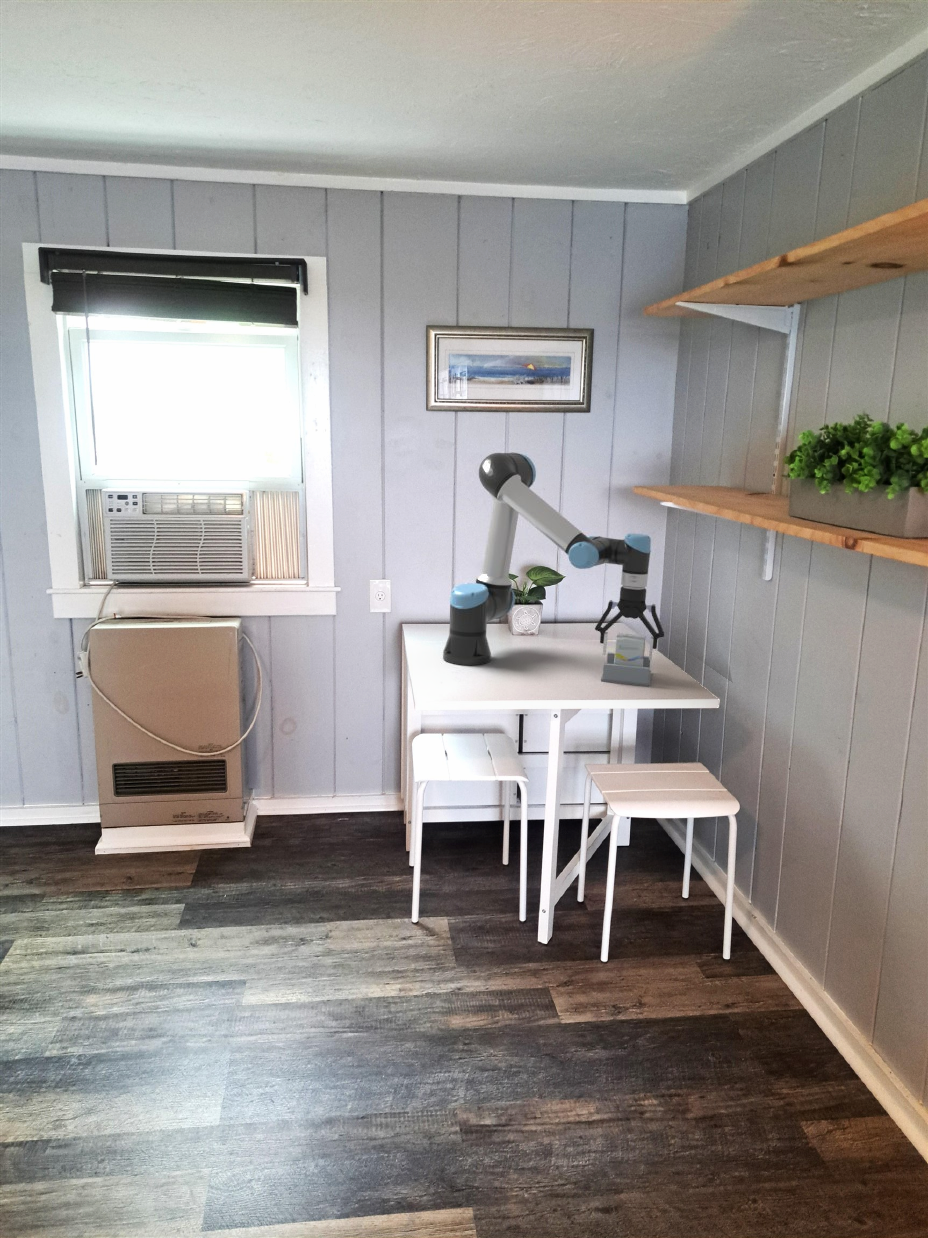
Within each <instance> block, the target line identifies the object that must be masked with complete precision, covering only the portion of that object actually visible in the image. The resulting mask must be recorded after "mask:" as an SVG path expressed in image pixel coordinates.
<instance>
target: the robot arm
mask: <svg viewBox="0 0 928 1238" xmlns="http://www.w3.org/2000/svg"><path fill="white" fill-rule="evenodd" d="M536 474H537V469H536V467H535V464H534V462H533V461H532V459H531V458H529V456H527V455H526V454H522V453H518V452H494V453H491V454H488V455H487V456H485V458H484V459H483V460H482V462H481V463H480V464H479V468H478V478H479V481H480V484H481V485H482V486H483V488H484V489H485V490H486V491H487V492H488V493H489V495H490V496H491V498H492V507H491V513H490V520H489V525H488V532H487V540H486V545H485V552H484V559H483V565H482V572H480V573H479V574H478V575H476V579H475V582H470V583H469V582H468V583H462V584H458V585H456V586H454V587H452V590H451V592H450V598H449V605H450V607H449V633H448V634H449V635H448V638H447V640H446V642H445V643H446V644H445V646H444V649H443V652H442V659H443V660H444V661H445V662H447V663H449V664H450V663H451V664H455V665H462V666H478V665H483V664H488V663H489V662H491V660H492V659H491V658H492V652H491V649H490V645H489V642H488V638H487V628H488V627H487V625H488V624H487V623H488V622H491V621H494V620H499V619H502V618H503V617H505V616H506V615H508V614H509V613H510V612H511V611H512V610H513V608H514V605H515V601H516V598H515V597H516V596H515V592H514V591H513V588H512V585H513V581H512V580H511V579H510V577H509V574H510V568H511V563H512V562H511V561H512V556H513V549H514V545H515V544H514V543H515V537H516V533H517V525H518V518H519V515H520V516H521V517H523V518H524V519H525V520H526V521H527V522H529V523H530V524H531V525H532V526H534V527H535V528H536V529H537V531H539V532H540V533H541V534H543V536H545V537H546V538H547V539H548V540H550V541H551V542H552V543H553V544H555V546H557V547H558V548H559V549H560V550H561V551H563V552H564V553H565V554H566V555H567V556H568V557H567V558H568V559H569V562H570V563H569V564H571V565H572V566H573V567H574V568H576V569H580V570H581V569H582V570H585V569H591V568H593V567H596V566H601V565H603V564H608V565H609V564H610V565H617V566H622V570H621V580H620V584H621V587H620V588H619V589H620V591H619V600H618V602H617V601H613V599H612V600H609V601H608V603H607V608H606V609H605V611H604V612H603V614H602V616H601V617H600V619H599V621H598V622H597V624H596V625H595V628H594V630H595V631H597V632H599V633H600V637H599V643H600V644H602V645H603V647H602V648H603V649H602V656H606V654H607V644H608V633H609V632H608V630H609V629H610V628H611V627H612V626H614V625H615V623H616V622H617V621H619V619H621V618H622V617H623V618H626V619H629V618H630V619H632V620H633V619H634V620H636V619H638V618H639V620H640V621H641V622H642V623H643V625H644V626H645V627H646V629H647V630H648V631H649V634H650V635H651V637H650V644H649V645H650V646H649V655H648V656H649V660H650V661H652V659H653V657H652V656H653V650H656V649H657V648H658V639H660V638H664V637H665V631H664V628H663V626H662V624H661V621H660V618H659V616H658V614H657V611H656V610H657V608H656V607H657V606H656V604H655V603H652V604H648V605H647V604H646V599H647V588H646V587H648V580H649V566H650V558H651V552H652V550H651V547H652V546H651V545H652V539H651V536H649V535H647V534H643V533H627V534H626V535H625V536H624V537H625V538H624V539H620V538H619V539H618V538H613V537H612V538H611V537H606V536H605V537H603V536H599V535H598V536H594V535H592V536H587V535H586V534H585V533H583V532H582V531H581V530H580V529H578V528H577V526H575V525H574V524H573V523H571V522H570V521H569V520H568V519H567V518H565V517H564V516H563V515H562V514H561V513H560V512H559V511H557V510H556V509H555V508H554V507H553V506H551V505H550V504H549V503H548V502H547V501H545V500H544V499H543V498H541V497H540V496H539V495H538V494H537V493H535V492H534V491H533V490H532V489H531V486H533V485H534V483H535V480H536ZM616 607H617V608H618V610H619V611H618V612H617V614H616V615H615V616H613V618H612V619H611V618H610V620H609V621H608V622H607V623H606V624H605V625H604V626H603V627H602V625H603V624H604V622H605V621H606V619H607V617H608V616H609V614H610V613H611V611H612V610H613V609H615V608H616ZM646 610H648V612H649V613H651V616H652V619H653V622H654V624H655V627H656V629H657V631H656V630H655V628H654V627H653V625H652V624H651V623H650V621H649V619H647V617H646V615H645V614H644V612H645V611H646Z"/></svg>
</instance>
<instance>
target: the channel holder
mask: <svg viewBox="0 0 928 1238" xmlns="http://www.w3.org/2000/svg"><path fill="white" fill-rule="evenodd" d="M606 654H607V655H606V663H605V662H604V664H603V668H602V669H603V672H602V674H601V678H600V682H605V683H614V684H623V685H632V686H643V687H650V684H651V675H652V670H651V669H650V667H651V660H649V655H644V661H643V667H637V666H627V665H617V664H614V658H615V652H607V653H606Z"/></svg>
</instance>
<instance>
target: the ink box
mask: <svg viewBox="0 0 928 1238" xmlns="http://www.w3.org/2000/svg"><path fill="white" fill-rule="evenodd" d="M646 636H647V635H638V634H630V633H620V632H618V633H617V636H616V638H615V640H616V641H615V650H614V653H615V658H614V664H617V665H627V666H637V667H643V661H644V656H645V651H646V650H645V648H646Z"/></svg>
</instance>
